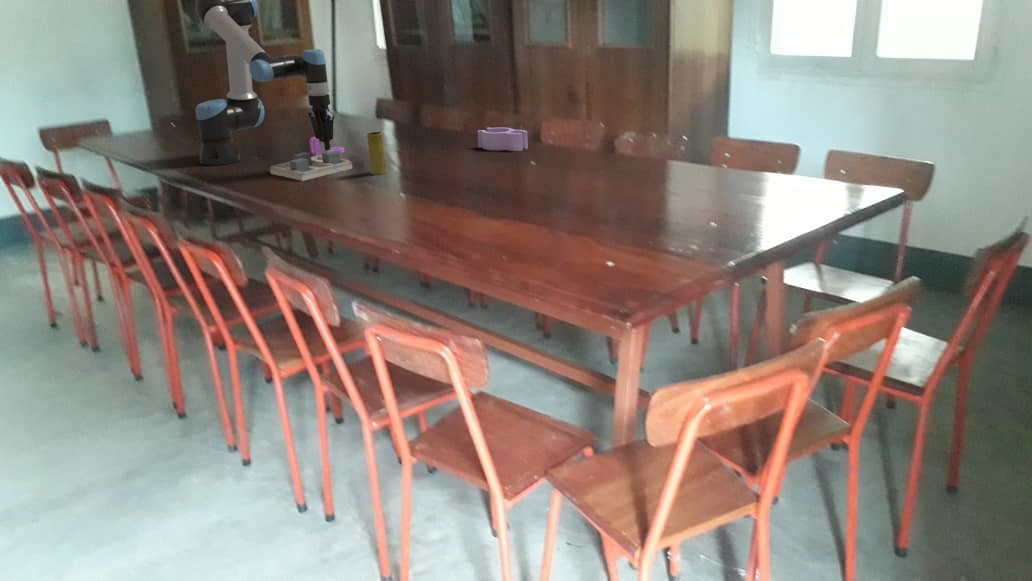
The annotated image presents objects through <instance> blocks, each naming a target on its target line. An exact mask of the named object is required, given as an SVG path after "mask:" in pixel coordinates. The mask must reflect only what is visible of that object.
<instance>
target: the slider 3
mask: <svg viewBox="0 0 1032 581" xmlns="http://www.w3.org/2000/svg"><path fill="white" fill-rule="evenodd" d="M340 154H341V153H339V152H335V151H331V152H327V153H322V160H323V162H324V163H329V164H338V163H341V162H340V159H341V156H340Z"/></svg>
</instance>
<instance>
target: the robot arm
mask: <svg viewBox="0 0 1032 581" xmlns="http://www.w3.org/2000/svg"><path fill="white" fill-rule="evenodd" d="M258 9H259V8H258V4H257V0H195V11H196V13H197V16H198V18H199V20H200V21H201V22H202V23H203V25H205V27H207V29H210V30H214V32H215V33H217V35H218V36H219V37H221V38H222V40H223V41H224V42H225V48H226V60H227V71H228V81H229V82H228V83H229V91H228V93H227V94H226V100H225V99H222V98H217V99H215V98H214V99H212V100H206V101H203V102H200V103H198V104H197V105H196V107H195V119H196V121H197V126H198V131H199V137H200V142H201V145H200V152H199V162H200V164H201V165H203V166H220V165H223V166H224V165H229V164H233V163H236V162H239V161H240V160H241V156H240V155H241V154H240V152H239V150H238V148H237V146H236V144H235V143H234V141H233V136H232V132H237V131H241V130H250V129H253V128H257V127H258V126H260V125H261V124H262V123H263V121H264V118H265V108H264V105H263V102H262V100H261V99H260V98H258V94H257V93H256V92H254V89H253V80H254V81H255V82H259V83H260V82H261V83H263V82H266V83H267V82H270V81H271V82H272V81H276V80H282V79H283V80H284V79H290V78H295V77H297V78H298V77H300V78H301V77H304V78H305V83H306V89H307V94H308V96H307V97H308V103H309V104H308V105H309V106H310V107H311V112H308V116H309V118H310V122H311V125H312V129H313V132H314V137H316V139H319V141H320V145H321V149H322V153H327V152H330V148H331V144H330V142H331V141H332V140H333V139H334V120H335V117H336V116H335V114H334V113H331V112H330V109H329V105H330V104H331V97H330V94H329V93H330V90H329V88H330V87H329V83H328V82H329V81H328V75H327V65H326V63H327V62H326V57H325V53H324V51H323V50H322V49H306V50H303V51H302V54H301V55H300V54H286V55H284V56H277V57H271V56H270V55H269V53H267V52H266V51H265V50H264V49H263V48H262V47H261V46H260V45H259V43H257V42H256V41H255V40H254V39H253V37H251V36H250V35H249V29H250V28H251V26H252V25H253V20H252V19H254V18H256V17H257V15H258Z"/></svg>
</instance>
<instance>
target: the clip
mask: <svg viewBox="0 0 1032 581" xmlns="http://www.w3.org/2000/svg"><path fill="white" fill-rule="evenodd" d="M477 141H478V142H477V143H478V148H481V149H484V150H486V151H510V152H522V151H523V149H524V150H528V149H529V147H528V146H529V145H528V131H527V130H524V129H513V128H511V127H486V130H485V129H481V130H480V129H479V130H477Z"/></svg>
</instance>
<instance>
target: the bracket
mask: <svg viewBox="0 0 1032 581" xmlns="http://www.w3.org/2000/svg"><path fill="white" fill-rule="evenodd" d="M308 144H309V149H310V154H311V156H313V157H314V156H318V155H321V156H322V149H321V145H320V141H319V139H316V137H315V136H312V137H310V139H309V143H308ZM331 151H335V152H339V154H341V153H344V152H345V148H344V147H342V146H340V147H339V146H335V147H330V152H331Z"/></svg>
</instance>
